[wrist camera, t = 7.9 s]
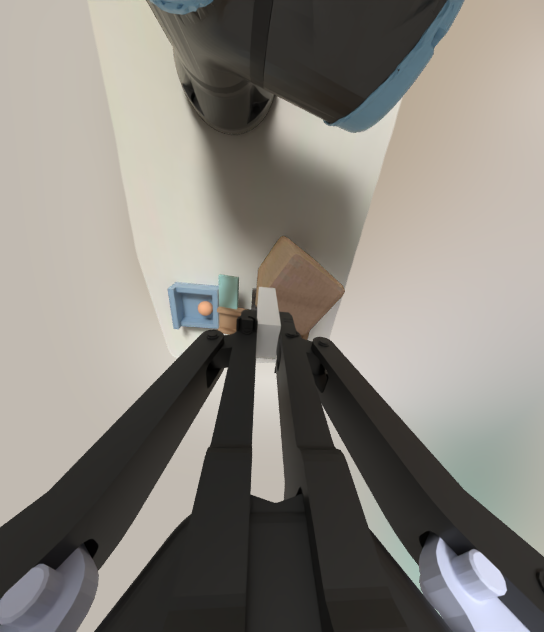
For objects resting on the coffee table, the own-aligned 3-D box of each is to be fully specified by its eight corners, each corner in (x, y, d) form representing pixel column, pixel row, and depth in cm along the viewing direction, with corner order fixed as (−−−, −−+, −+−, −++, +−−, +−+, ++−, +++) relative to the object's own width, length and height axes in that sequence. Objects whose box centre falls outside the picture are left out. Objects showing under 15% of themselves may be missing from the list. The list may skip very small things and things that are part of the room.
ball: (206, 297, 48) (194, 301, 45) (216, 302, 46) (203, 306, 44) (207, 310, 50) (195, 314, 47) (216, 315, 48) (204, 319, 45)
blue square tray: (175, 282, 46) (167, 288, 42) (219, 286, 47) (215, 293, 43) (180, 319, 51) (173, 328, 47) (220, 322, 51) (217, 331, 48)
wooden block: (289, 293, 48) (304, 339, 31) (256, 270, 45) (252, 307, 28) (315, 260, 45) (350, 292, 27) (281, 233, 41) (295, 249, 24)
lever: (221, 328, 46) (215, 336, 43) (220, 274, 40) (213, 278, 36) (304, 342, 44) (304, 352, 41) (316, 289, 38) (318, 295, 35)
